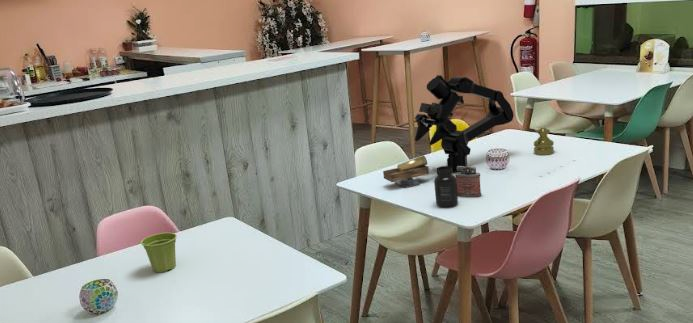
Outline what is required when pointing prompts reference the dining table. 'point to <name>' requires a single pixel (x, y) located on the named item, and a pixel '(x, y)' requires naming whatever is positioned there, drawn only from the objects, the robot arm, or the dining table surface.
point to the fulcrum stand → (407, 183)
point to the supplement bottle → (445, 187)
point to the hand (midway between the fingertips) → (422, 142)
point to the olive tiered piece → (543, 143)
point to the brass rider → (412, 164)
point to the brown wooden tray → (404, 174)
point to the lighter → (468, 182)
